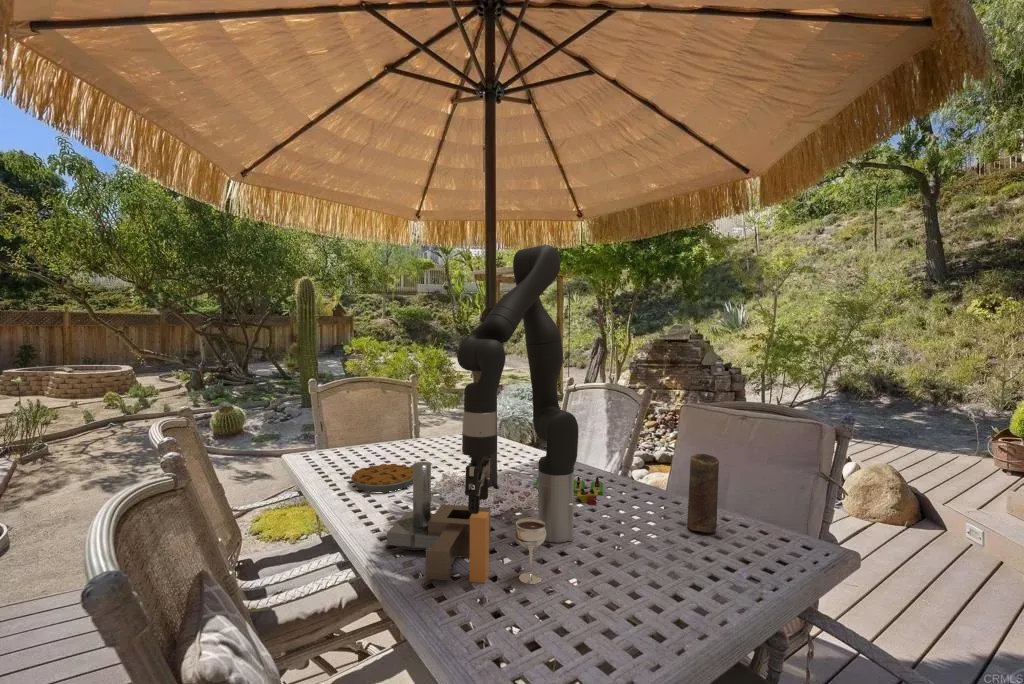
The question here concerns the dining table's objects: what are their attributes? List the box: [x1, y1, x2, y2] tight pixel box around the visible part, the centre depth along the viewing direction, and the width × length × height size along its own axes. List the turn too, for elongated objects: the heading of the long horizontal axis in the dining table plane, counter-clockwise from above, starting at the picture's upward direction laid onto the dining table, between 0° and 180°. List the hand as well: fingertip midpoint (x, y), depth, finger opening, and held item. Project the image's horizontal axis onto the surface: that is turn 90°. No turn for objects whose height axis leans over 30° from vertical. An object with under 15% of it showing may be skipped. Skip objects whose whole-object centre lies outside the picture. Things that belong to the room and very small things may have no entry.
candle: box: [686, 453, 720, 534], centre depth 129 cm, size 8×7×20 cm
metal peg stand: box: [386, 461, 440, 551], centre depth 120 cm, size 14×14×20 cm
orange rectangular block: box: [469, 511, 490, 584], centre depth 104 cm, size 4×4×14 cm
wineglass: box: [515, 516, 546, 585], centre depth 104 cm, size 7×7×12 cm
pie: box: [350, 463, 413, 493], centre depth 165 cm, size 22×22×5 cm
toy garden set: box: [533, 476, 604, 506], centre depth 158 cm, size 23×19×5 cm
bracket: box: [425, 504, 492, 581], centre depth 112 cm, size 13×24×8 cm, turn 171°
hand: (478, 505), depth 103 cm, fingers open, 8 cm apart
